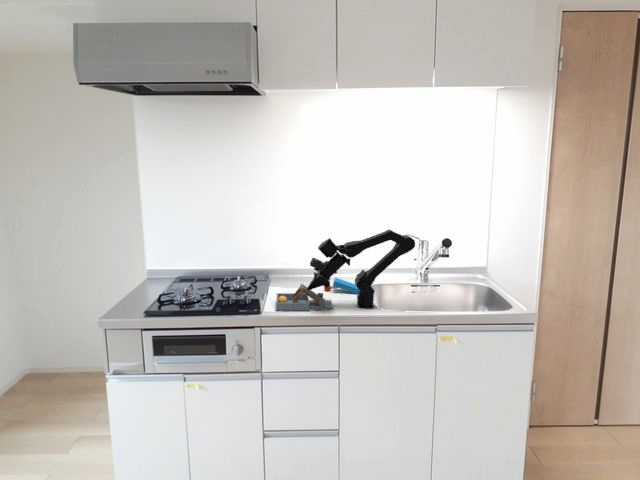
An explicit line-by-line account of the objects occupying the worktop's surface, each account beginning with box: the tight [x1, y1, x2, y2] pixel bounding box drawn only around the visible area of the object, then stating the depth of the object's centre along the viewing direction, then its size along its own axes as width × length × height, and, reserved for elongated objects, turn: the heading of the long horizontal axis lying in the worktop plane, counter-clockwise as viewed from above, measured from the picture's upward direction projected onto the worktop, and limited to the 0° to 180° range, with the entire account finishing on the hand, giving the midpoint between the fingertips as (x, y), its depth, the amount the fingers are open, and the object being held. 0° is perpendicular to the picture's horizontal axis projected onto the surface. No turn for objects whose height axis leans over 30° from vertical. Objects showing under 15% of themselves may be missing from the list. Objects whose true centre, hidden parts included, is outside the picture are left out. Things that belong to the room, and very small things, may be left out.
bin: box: [275, 292, 310, 312], centre depth 203 cm, size 14×14×4 cm
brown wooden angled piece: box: [292, 283, 321, 303], centre depth 203 cm, size 8×7×11 cm
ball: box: [278, 296, 287, 303], centre depth 202 cm, size 4×4×4 cm
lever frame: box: [309, 292, 334, 311], centre depth 204 cm, size 10×10×4 cm
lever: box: [323, 277, 360, 295], centre depth 227 cm, size 7×7×18 cm
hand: (307, 289), depth 202 cm, fingers closed
